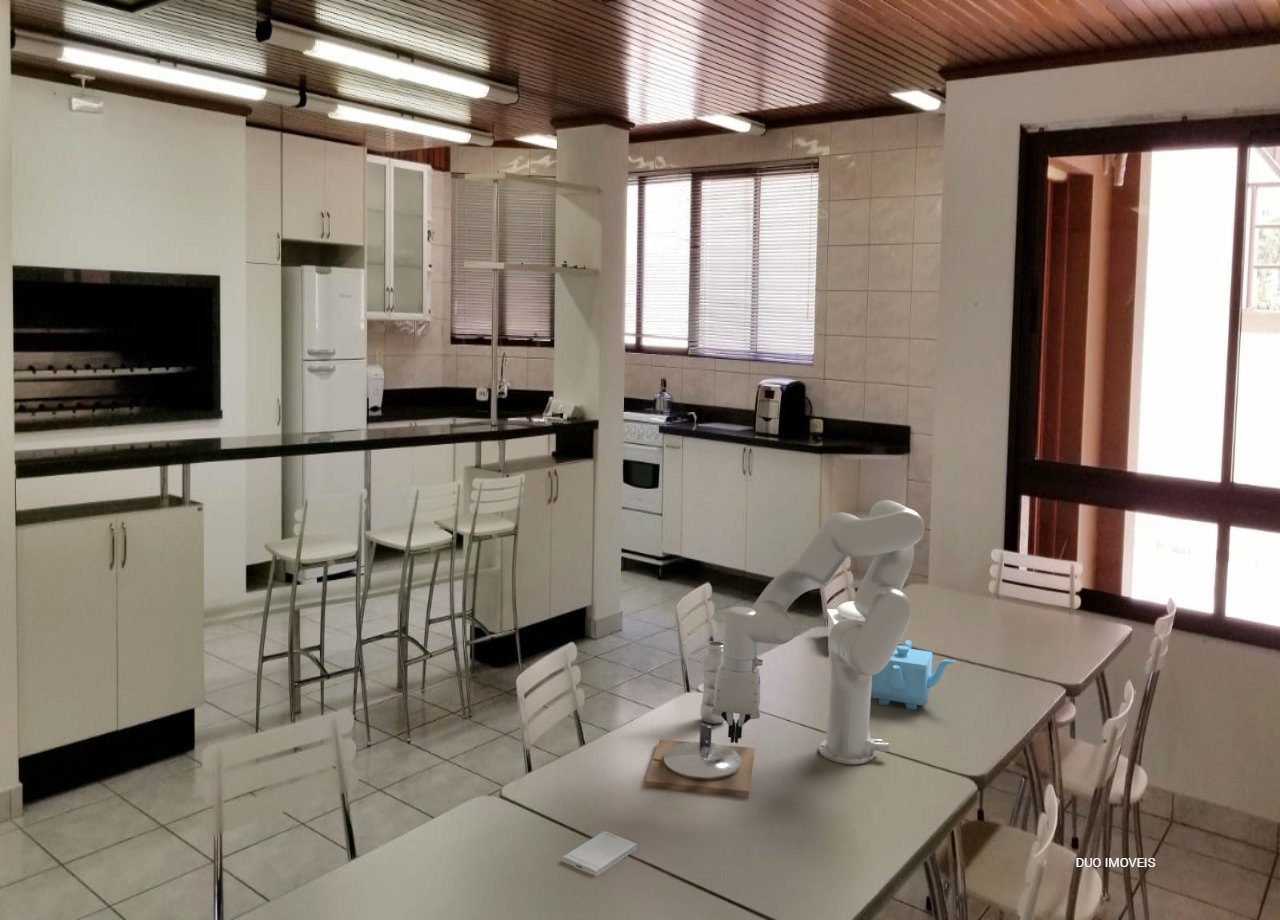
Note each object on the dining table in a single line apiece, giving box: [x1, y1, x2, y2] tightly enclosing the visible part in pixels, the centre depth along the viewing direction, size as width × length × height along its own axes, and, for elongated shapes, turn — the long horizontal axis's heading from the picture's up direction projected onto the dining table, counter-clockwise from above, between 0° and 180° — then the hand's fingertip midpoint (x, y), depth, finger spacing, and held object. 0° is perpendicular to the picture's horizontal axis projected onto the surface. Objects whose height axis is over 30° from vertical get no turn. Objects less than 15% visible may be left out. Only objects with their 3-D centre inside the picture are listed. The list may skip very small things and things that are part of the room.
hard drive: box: [561, 830, 638, 877], centre depth 195 cm, size 2×8×12 cm
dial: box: [664, 723, 741, 780], centre depth 231 cm, size 17×17×6 cm
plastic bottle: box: [699, 641, 726, 725], centre depth 257 cm, size 6×7×20 cm
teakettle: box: [871, 639, 957, 711], centre depth 275 cm, size 19×19×15 cm
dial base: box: [644, 739, 755, 799], centre depth 231 cm, size 22×22×2 cm
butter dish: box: [826, 600, 866, 639], centre depth 320 cm, size 18×18×16 cm
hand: (734, 740), depth 237 cm, fingers closed
